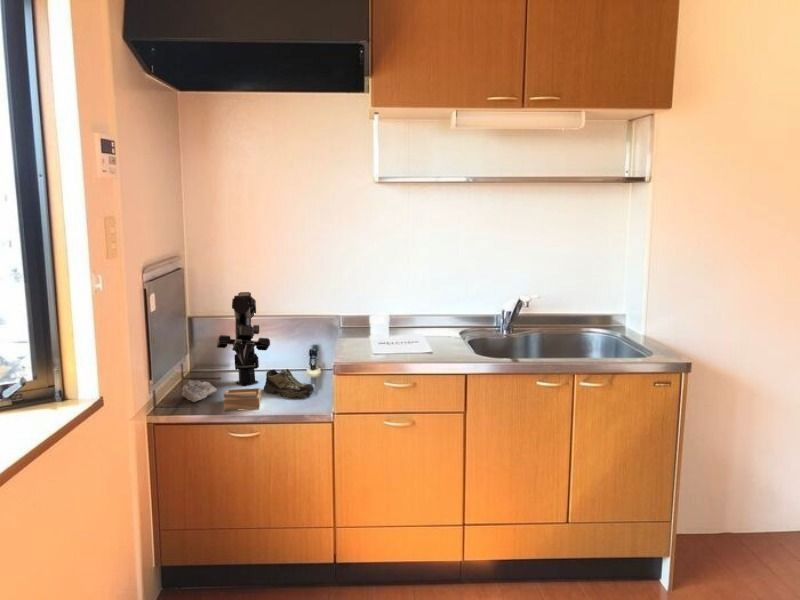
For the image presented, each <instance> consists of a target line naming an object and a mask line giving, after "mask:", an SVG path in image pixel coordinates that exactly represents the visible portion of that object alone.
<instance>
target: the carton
mask: <svg viewBox="0 0 800 600" xmlns="http://www.w3.org/2000/svg"><path fill="white" fill-rule="evenodd" d="M261 389H262V388H261V387H256V388H236V389H235V388H234V389H226V392H225V393H237V392H256V395H257V399H240V400H225V398H223V411H224V410H235V411H239V410H238V409H254V410H260V408H259V407H260V406H261V402H262V391H261ZM260 401H261V402H260Z"/></svg>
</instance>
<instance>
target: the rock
mask: <svg viewBox="0 0 800 600" xmlns="http://www.w3.org/2000/svg"><path fill="white" fill-rule="evenodd" d="M217 391H218V389H217V388H216V387H214V386H213V385H212V384H211V383H210V382H208V381H202V382H201V381H200V380H188V382H187V383H186V384H184V385H183V387H182V393H181V395H182V397H184V398H185V399H187V401H189V400H190V401H191V402H192V403H196V402H197V401H200V400H204V399H206V398H207V397H208V396H211V395H213V394H214V393H216V392H217Z"/></svg>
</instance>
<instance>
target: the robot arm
mask: <svg viewBox="0 0 800 600" xmlns="http://www.w3.org/2000/svg"><path fill="white" fill-rule="evenodd" d="M231 299H232V302H231V309H232V310H233V312H234V318H235V321H234V323H235V325H234V326H235V331H234V332H235V334H234V335H235V338H234V339H233V338H231V335H226V334H220V335H219V336H218V338H217V340H216V348H217V349H226V348H227V347H228V345H232V349H231V350H232V351H234V352H235V354H234V368H235V371H238V380H237V381H235V384H237V385H240V386H244V387H245V386H250V385H254V384H257V383H259V381H258V380H256V371H255V370H257V369H258V368H259V367H260V366H259V365H260V363H259V362H260V361H259V356H258V354H257V353H255V352H256V351H255V348H256V349H257V351H267V350H268V349H269V348H270V346H271V340H270V338H268V337H259V338H258V339H257V340H252V339H254V336H255V335H258V334H260V325H259V324H258V325H257V324H254V325H252V322H251V318H252V317H253V316H254V313H255V314H257V301H256V299H255V298H254V297H252V292H250V291H245V292H244V291H242V292H241V291H240V292H238V295H234V296H233V298H231Z"/></svg>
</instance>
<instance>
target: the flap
mask: <svg viewBox="0 0 800 600" xmlns="http://www.w3.org/2000/svg"><path fill="white" fill-rule="evenodd" d="M222 395H223V397H224V398H225V400H240V399H257V395H256V392H237V393H226V392H224V393H222ZM224 398H223V399H224Z"/></svg>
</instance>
